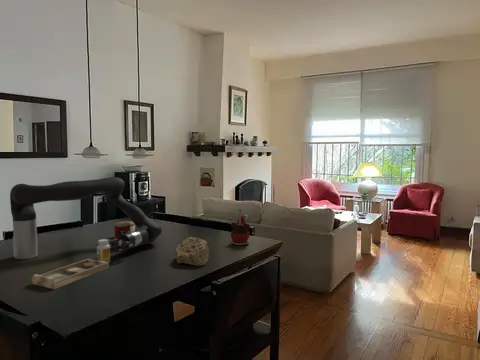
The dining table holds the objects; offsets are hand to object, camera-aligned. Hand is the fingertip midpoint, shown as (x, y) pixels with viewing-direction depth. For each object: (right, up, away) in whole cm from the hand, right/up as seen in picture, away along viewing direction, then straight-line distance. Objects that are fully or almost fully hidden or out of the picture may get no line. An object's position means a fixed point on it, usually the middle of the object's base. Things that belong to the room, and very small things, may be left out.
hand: (104, 248), depth 165 cm
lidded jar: (-5, -2, +46) cm, 47 cm away
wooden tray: (-6, -8, -17) cm, 20 cm away
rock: (+38, -6, +5) cm, 38 cm away
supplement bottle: (0, -6, 0) cm, 6 cm away
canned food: (-1, -4, +29) cm, 29 cm away
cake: (+59, -3, +32) cm, 67 cm away
